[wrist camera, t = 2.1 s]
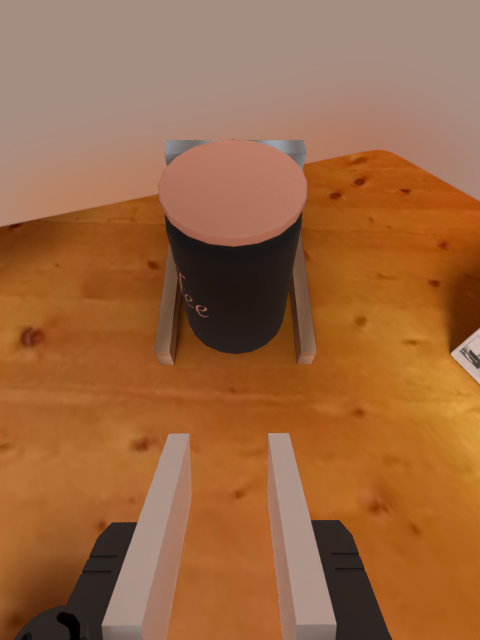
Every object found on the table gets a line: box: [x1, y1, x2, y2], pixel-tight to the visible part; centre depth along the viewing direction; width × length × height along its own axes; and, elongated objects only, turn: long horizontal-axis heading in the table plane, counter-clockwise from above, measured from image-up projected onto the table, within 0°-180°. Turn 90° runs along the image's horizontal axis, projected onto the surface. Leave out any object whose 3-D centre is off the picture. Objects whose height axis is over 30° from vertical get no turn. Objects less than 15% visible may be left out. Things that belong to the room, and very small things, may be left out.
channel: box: [154, 140, 317, 365], centre depth 39 cm, size 16×24×10 cm, turn 0°
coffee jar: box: [158, 140, 307, 354], centre depth 33 cm, size 11×11×18 cm
